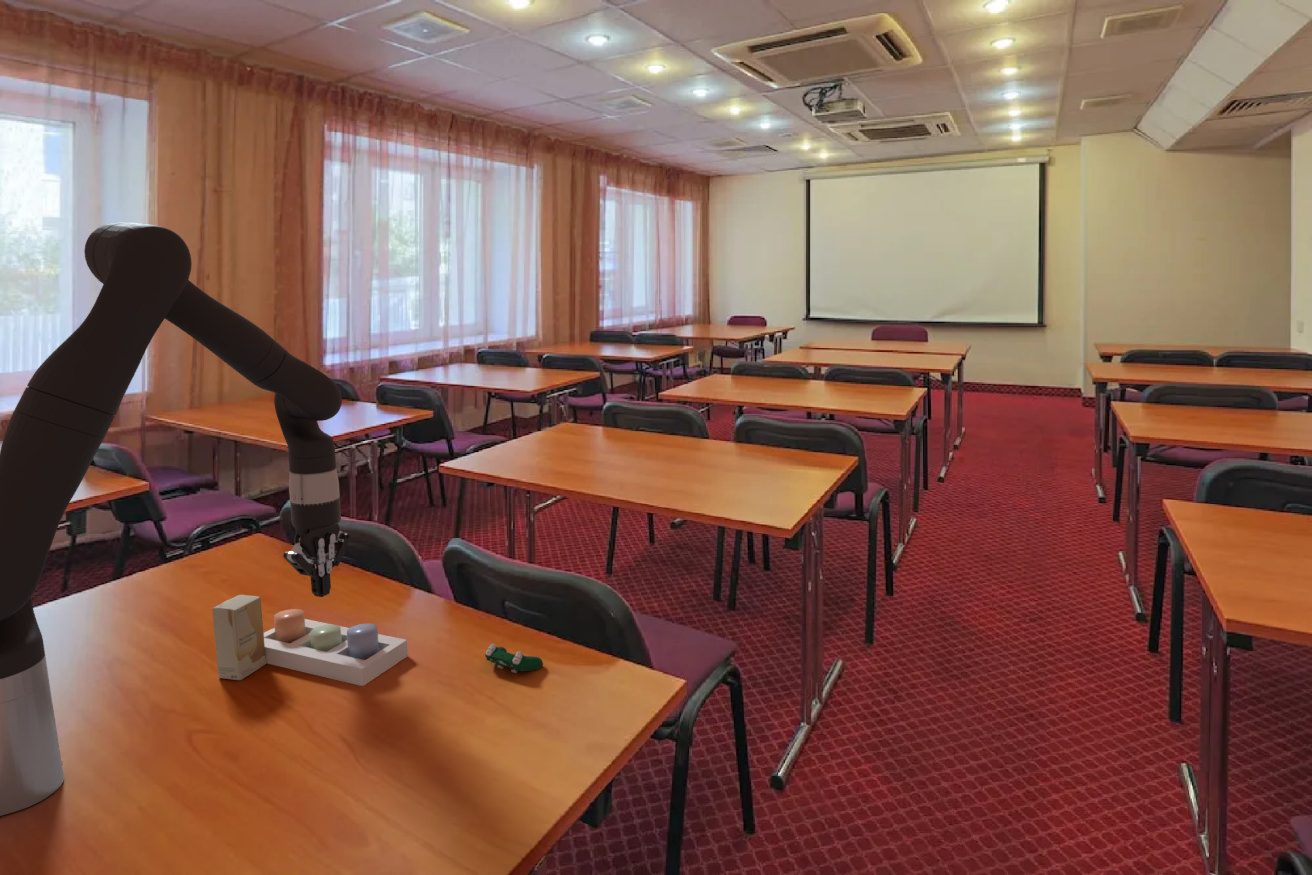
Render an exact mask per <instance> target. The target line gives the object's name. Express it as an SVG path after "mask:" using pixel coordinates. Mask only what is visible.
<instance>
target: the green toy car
mask: <svg viewBox="0 0 1312 875" xmlns="http://www.w3.org/2000/svg"><path fill="white" fill-rule="evenodd" d="M484 656H485V658H486V661H489V662H490V663H493V664H494V663H495V664H496V665H497V668H498V669H501V670H503V669H504V668H506V667H508V668H510V669H511V673H515V674H517V673H519V672H523V671H524V672H529V671H531V672H532V671H536V670H538V669H540V668H542V667H543V666H544V662H543V660H542V658H540V657H538V656H533V655H532V656H530V655H524V654H523V653H522V651H520V650H518V651H516V653H515V654H514V653H511V652H508V651H507V648H505V647H504V646H497V645H496V644H495V643H491V644H490V645H489V646H488V648H487V650H485V654H484Z"/></svg>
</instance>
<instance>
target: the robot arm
mask: <svg viewBox="0 0 1312 875" xmlns="http://www.w3.org/2000/svg"><path fill="white" fill-rule="evenodd" d="M83 252H84V258H85V262H86V265H87V267H88V269H89V270H90V272H91V274H92V275H93V276H94V277H95V278H96V279H97V281H98V282H100V283H101V284H102V287H101V289H100V291H99V293H98V296H97V297H96V300H95V302H94V304H93V306H92V307H91V309H90V311H89V313H88V314H87V316H86V317H85V319H84V321H83V322H82V323H80V325H79V326H78V327H77V328H76V329H75V330H74V331H73V332H72V334H70V335H69V336H68V337H67V338H66V339H65V340H63V342H62V343H61V344H60V345H59V346H58V347H57V348H55V350H54V351H53V352H51V354H50V355H48V357H47V358H46V359H45V360H44V361H43V362H42V363H41V364H40V365H39V367H38V368H37V369H36V371H35V372H34V373H33V375H32V376H31V378H30V380H28V383H27V386H26V387H25V388H24V390H23V392H22V394H21V396H20V398H19V400H18V403H17V404H16V406H15V408H14V410H13V412H12V414H11V416H10V419H9V421H8V424H7V425H6V426H7V427H6V428H5V432H4V435H3V440H2V444H1V446H0V817H2V816H4V815H8V814H12V813H16V812H18V811H19V812H20V811H21V810H24V809H27V808H29V807H32V806H33V805H35V804H37V803H39V802H42V801H43V800H45V799H47V798H48V797H49V796H50V795H52V794H55V792H56V791H57V790H58V789H59V788H60V787H61V786H62V784H63V782H64V780H65V775H64V768H63V765H64V764H63V760H62V755H61V748H60V741H59V734H58V730H57V729H58V728H57V723H56V717H55V710H54V709H55V708H54V704H53V697H52V691H51V690H52V689H51V685H50V677H49V671H48V663H47V657H46V651H45V644H44V638H43V634H42V631H41V629H40V627H39V624H38V621H37V618H36V613H35V611H34V606H33V601H32V596H34V593H35V592H36V590H37V588H38V585H39V582H40V579H41V576H42V574H43V570H44V568H45V565H46V561H47V558H48V556H49V553H50V550H51V547H52V545H53V541H54V539H55V536H56V533H57V530H58V528H59V526H60V523H61V520H62V519H63V516H64V514H65V512H66V510H67V508H68V506H69V504H70V503H71V501H72V499H73V497H74V496H75V494H76V492H77V491H78V488H79V487H80V485H81V483H82V481H83V479H84V477H85V475H86V474H87V472H88V469H89V468H90V466H91V463H92V462H93V460H94V458H95V456H96V454H97V452H98V451H99V449H100V447H101V445H102V443H103V441H104V439H105V438H106V436H107V433H108V431H109V429H110V427H111V425H112V423H113V421H114V419H115V416H117V415H116V414H117V413H118V411H119V408H120V405H121V403H122V401H123V398H124V396H125V394H126V392H127V390H128V388H129V387H130V384H131V382H132V380H133V379H134V376H135V374H136V372H137V370H138V368H139V367H140V364H141V362H142V360H143V357H144V355H145V354H146V351H147V349H148V347H149V345H150V343H151V341H152V340H153V338H154V336H155V334H156V333H157V331H158V329H159V328H160V326H161V325H162V323H163V321H164V320H166V321H168V322H170V323H171V324H173V325H174V327H175V326H176V327H177V328H178V329H180V330H181V331H183V332H184V333H185V334H187V335H189V336H190V337H191V338H192V339H194V340H195V341H197V342H198V343H199V344H200V345H202V346H203V347H205V348H206V349H207V350H208V351H210V352H211V353H212V354H214V355H215V356H217V358H219V359H220V360H222V361H223V363H225V364H226V365H228V366H229V367H230V368H231V369H232V370H235V371H236V372H237V373H239V374H240V375H241V376H243V377H244V378H245V379H246V380H248V381H249V382H250V383H252V384H253V385H254V386H256V387H258V388H260V389H262V390H265V391H268V392H272V393H274V398H273V399H274V400H273V403H274V409H275V414H276V417H277V418H276V419H277V421H278V424H279V426H280V430H281V432H282V435H283V438H284V441H285V443H286V446H287V449H288V450H287V451H288V452H287V454H288V465H289V466H288V468H289V480H288V492H289V493H288V494H289V505H290V516H291V525H292V526H293V528H294V529H295V536H294V540H293V542H294V545H293V546H292V548H291V549H290V551H289V550H288V551H285V552H284V553H283V555H282V556H283V559H284V560H285V561H287V562H288V564H290V566H291V567H292V568H293V569H294V570H295V571H296V572H298V574H299V575H302V576H307V577H310V585H311V593H312V594H313V596H314V597H319V598H323V597H326V596H328V595H329V594H330V592H331V588H332V585H331V573H332V571H333V569H334V567H338V566H339V565H340V563H341V561H342V559H343V556H344V554H345V551H346V549H347V547H348V544H349V543H350V540H351V538H352V535H351V534H350V533H347V532H343V531H342V530H341V526H340V525H339V523H340V522H341V520H342V515H341V514H342V512H341V510H342V509H341V500H340V499H341V496H340V482H339V481H340V480H339V477H338V471H337V462H336V461H337V458H336V449H335V448H336V447H335V441H334V438H333V437H332V436H331V435H329V433H326V432H324V431H323V430H322V429H321V428H320V425H319V423H318V422H322V421H327V420H329V419H332V418H334V417H335V416H336V415H337V414H338V413H339V412H340V410H341V407H342V404H343V399H342V394H341V391H340V388H339V387H338V385H337V384H336V383H335V382H334V381H333V379H331V378H330V377H329V376H328V375H326V374H324V372H322V371H320V370H319V369H317V368H315V367H313V366H312V365H310V364H309V363H306V362H305V361H303V360H301V359H300V358H298V357H296V356H294V355H293V354H291V353H290V351H288V349H287V350H286V348H284V347H283V346H282V345H281V344H280V343H279V342H277V341H276V340H275V339H274V338H273V337H271V335H270V334H268V333H267V332H266V331H265V330H263V329H262V328H260V327H259V326H258V325H257V324H255V323H254V322H252V321H251V320H249V319H247V318H246V317H244V316H243V315H241V314H239V313H238V312H236V311H234V310H233V309H231V308H230V307H228V306H226V305H224V304H223V303H221V302H220V301H218V300H217V299H215V298H214V297H212V296H210V295H209V294H208V293H206V292H205V291H204V290H202V289H201V288H199V287H198V286H196V285H195V284H194V283H193V282H192V281H191V280H189V279H190V275H191V272H192V262H193V261H192V256H191V253H190V248H189V246H188V245H187V244H186V242H185V241H184V239H183V238H182V237H181V236H180V235H179V234H178V233H176V232H175V231H173V230H171V229H169V228H166V227H163V226H160V225H157V224H156V225H155V224H151V223H150V224H148V223H140V222H138V223H137V222H127V221H126V222H125V221H124V222H112V223H108V224H104V225H100V227H97V228H96V229H94V231H92V232H91V233H90V234H89V236H88V237H87V239H86V242H85V245H84V251H83Z"/></svg>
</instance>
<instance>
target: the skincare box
mask: <svg viewBox="0 0 1312 875" xmlns="http://www.w3.org/2000/svg"><path fill="white" fill-rule="evenodd" d="M261 598H262V597H261V596H257V595H248V594H247V595H246V594H238V595H236V596H234V597H232V598H230V599H227V600H224V601H223V602H222V603H219V604H218V605H216V606H214V607H212V620H213V630H214V632H213V633H214V643H215V654H216V664H217V665H216V666H217V675H218V678H219V679H227V680H233V681H242V680H243V679H245V678H246V677H248V676H250V675H251V674H253V673H255V672H256V671H257V670H259V669H260V668H262V667H264V666H265V665H266V664H267V663H266V656H265V645H264V623H263V609H262V599H261Z"/></svg>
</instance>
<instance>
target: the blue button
mask: <svg viewBox="0 0 1312 875" xmlns="http://www.w3.org/2000/svg"><path fill="white" fill-rule="evenodd" d="M348 628H349V629H348V630H347V642H348V655H349V656H350V657H353V658H357V659H362V660H363V659H368V658H370V657H371V656H373V655H374V654H376V653H378V651H379V644H378V634H379V633H378V632H379V630H378V626H377V625H376V624H374V623H360V624H357V625H356V624H355V625H353V626H351V627H348Z"/></svg>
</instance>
